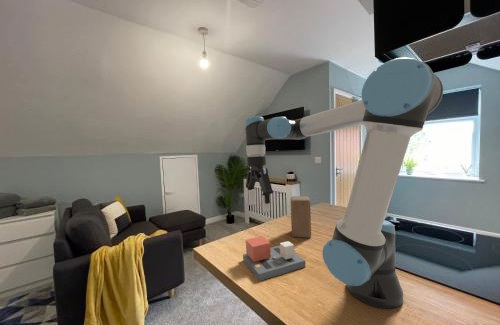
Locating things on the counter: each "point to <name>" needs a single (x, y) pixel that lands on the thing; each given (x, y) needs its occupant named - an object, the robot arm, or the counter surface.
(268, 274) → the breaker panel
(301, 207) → the wooden block
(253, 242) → the cap
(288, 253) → the block
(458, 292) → the counter surface
